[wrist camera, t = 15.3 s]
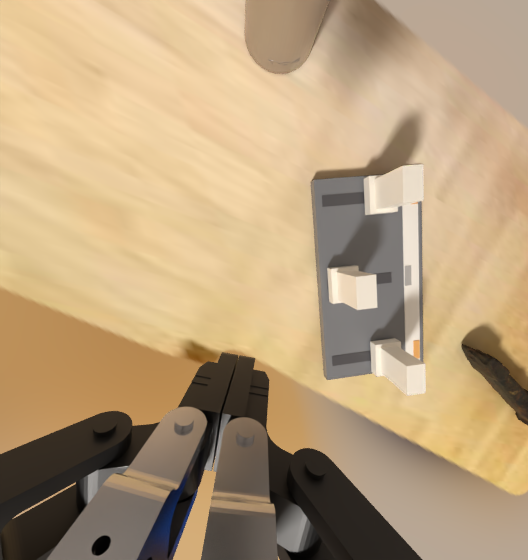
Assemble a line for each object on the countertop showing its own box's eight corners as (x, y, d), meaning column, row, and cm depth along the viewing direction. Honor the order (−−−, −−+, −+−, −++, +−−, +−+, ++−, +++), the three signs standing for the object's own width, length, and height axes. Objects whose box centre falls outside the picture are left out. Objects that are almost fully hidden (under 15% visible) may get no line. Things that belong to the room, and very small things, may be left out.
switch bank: (310, 182, 37) (314, 179, 36) (414, 174, 39) (421, 171, 37) (323, 375, 41) (327, 380, 40) (416, 361, 43) (424, 366, 41)
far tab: (370, 341, 39) (400, 363, 32) (394, 338, 40) (430, 359, 32) (371, 371, 40) (401, 400, 33) (395, 368, 40) (431, 395, 33)
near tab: (363, 178, 36) (396, 161, 29) (390, 176, 36) (429, 159, 29) (365, 215, 37) (397, 207, 29) (391, 212, 37) (429, 204, 30)
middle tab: (327, 268, 37) (349, 273, 30) (353, 265, 38) (382, 269, 30) (329, 301, 38) (351, 314, 30) (355, 298, 38) (383, 310, 31)
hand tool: (529, 401, 46) (561, 418, 42) (513, 417, 46) (544, 435, 42) (470, 331, 43) (498, 341, 39) (453, 348, 43) (479, 360, 39)
